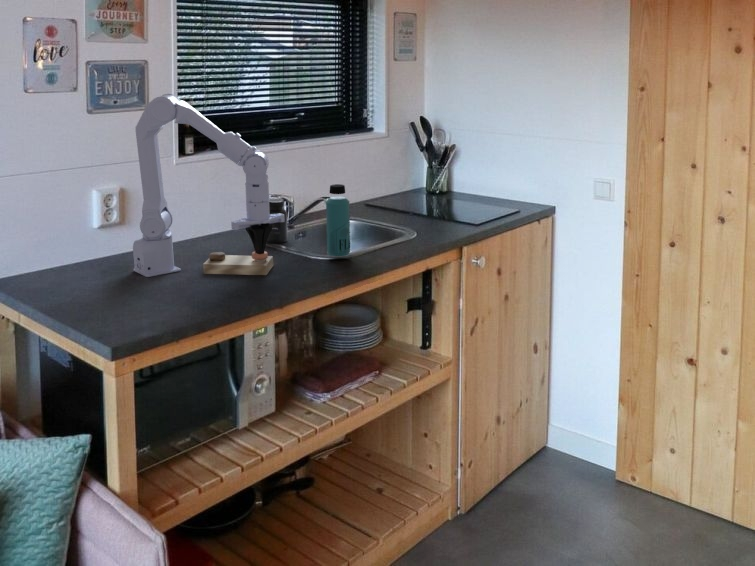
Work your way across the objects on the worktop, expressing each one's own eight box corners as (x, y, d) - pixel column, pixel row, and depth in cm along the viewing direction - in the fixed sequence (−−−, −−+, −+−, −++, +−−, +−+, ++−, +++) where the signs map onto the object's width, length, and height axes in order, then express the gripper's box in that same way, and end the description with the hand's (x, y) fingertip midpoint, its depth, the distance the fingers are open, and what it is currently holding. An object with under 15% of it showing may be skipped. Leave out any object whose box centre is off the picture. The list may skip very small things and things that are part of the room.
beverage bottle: (338, 263, 225) (338, 188, 219) (321, 258, 229) (319, 184, 223) (355, 258, 229) (355, 184, 223) (338, 254, 234) (337, 181, 228)
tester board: (203, 273, 215) (203, 264, 214) (213, 264, 224) (212, 254, 223) (266, 275, 214) (265, 265, 213) (273, 265, 222) (273, 256, 222)
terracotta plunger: (257, 269, 215) (257, 255, 214) (249, 266, 218) (248, 252, 217) (271, 267, 218) (270, 253, 217) (262, 263, 221) (262, 250, 220)
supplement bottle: (268, 245, 243) (267, 203, 240) (260, 239, 249) (258, 199, 245) (291, 242, 246) (290, 201, 243) (282, 237, 252) (281, 197, 248)
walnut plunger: (215, 270, 216) (214, 256, 215) (207, 267, 219) (206, 253, 218) (228, 267, 219) (228, 254, 218) (220, 264, 222) (219, 251, 221)
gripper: (241, 206, 206) (243, 261, 210) (290, 199, 215) (292, 251, 219) (225, 202, 211) (228, 255, 215) (275, 195, 220) (276, 246, 224)
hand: (259, 253), depth 217 cm, fingers closed, pressing on terracotta plunger
